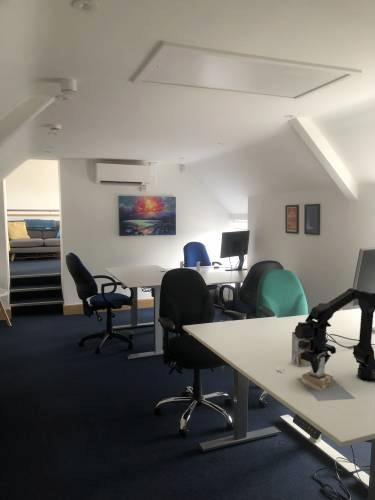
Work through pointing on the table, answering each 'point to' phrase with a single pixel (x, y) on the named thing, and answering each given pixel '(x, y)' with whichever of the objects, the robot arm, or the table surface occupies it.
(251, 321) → the table surface
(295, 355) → the coffee box
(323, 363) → the steel pin
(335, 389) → the rubber mat
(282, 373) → the pliers
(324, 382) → the wooden square frame
